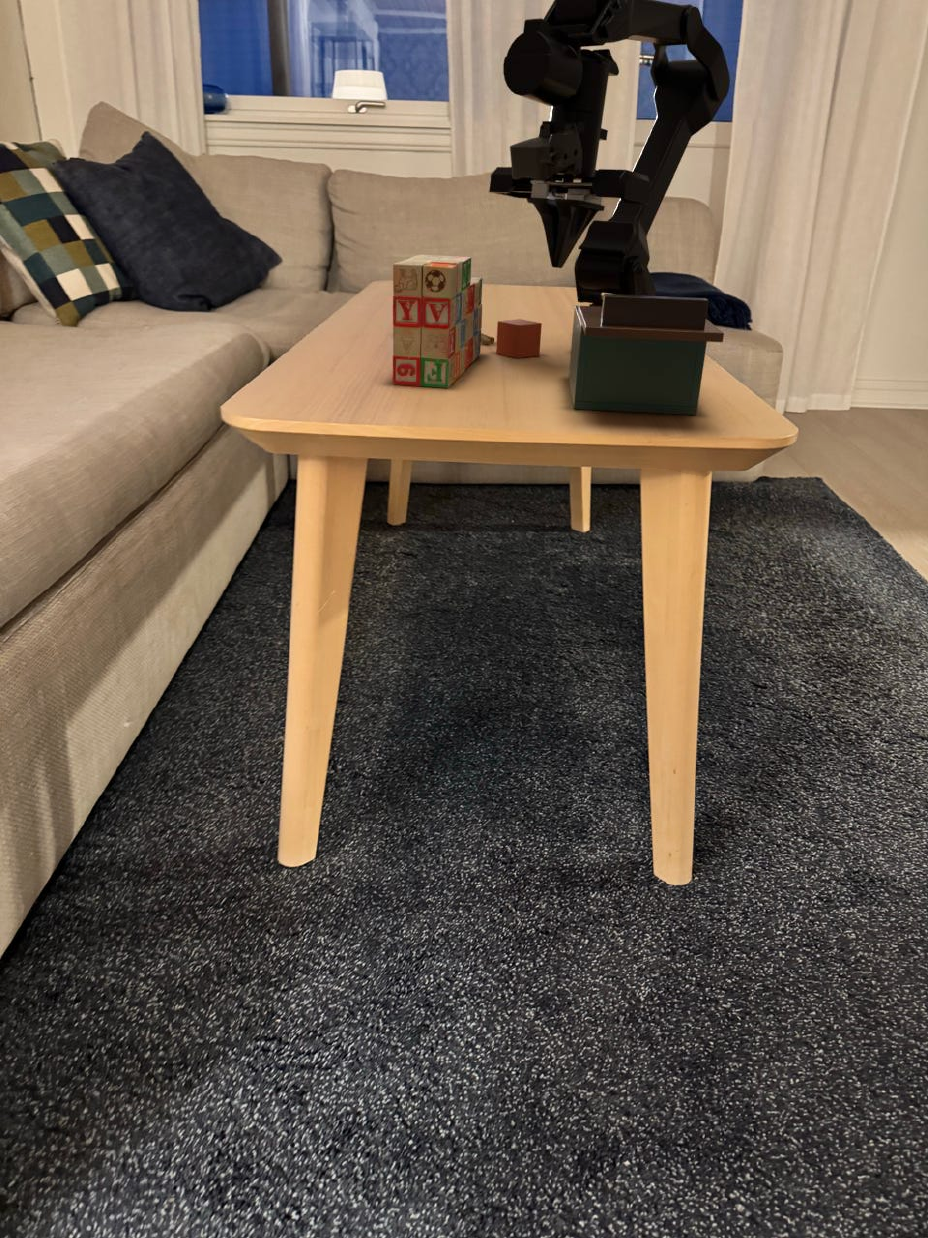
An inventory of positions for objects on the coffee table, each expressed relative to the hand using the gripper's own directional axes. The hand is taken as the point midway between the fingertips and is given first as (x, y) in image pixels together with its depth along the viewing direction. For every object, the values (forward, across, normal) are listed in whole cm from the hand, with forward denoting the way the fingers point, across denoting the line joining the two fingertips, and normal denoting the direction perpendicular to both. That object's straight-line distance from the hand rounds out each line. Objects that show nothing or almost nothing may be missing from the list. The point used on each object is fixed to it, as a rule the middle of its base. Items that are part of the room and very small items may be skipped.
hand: (556, 267), depth 105 cm
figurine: (+11, -22, +5) cm, 25 cm away
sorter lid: (+5, +20, -12) cm, 24 cm away
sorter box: (+12, +15, -5) cm, 20 cm away
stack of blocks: (+13, -7, -10) cm, 18 cm away
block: (+11, -8, +5) cm, 14 cm away
